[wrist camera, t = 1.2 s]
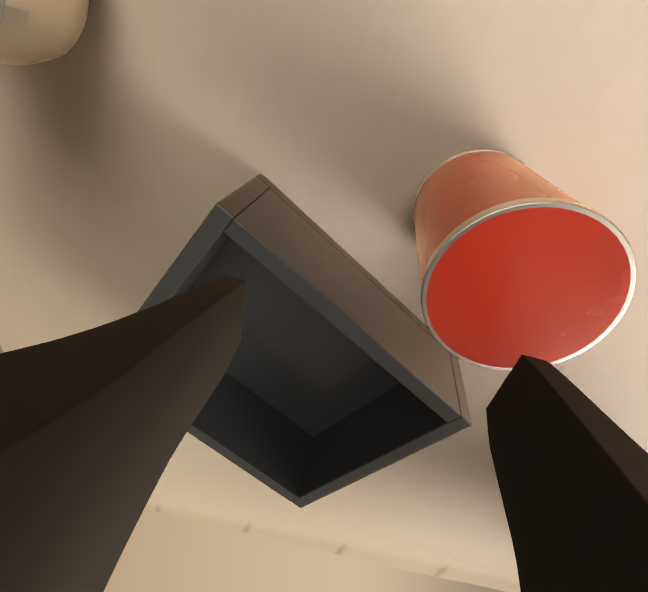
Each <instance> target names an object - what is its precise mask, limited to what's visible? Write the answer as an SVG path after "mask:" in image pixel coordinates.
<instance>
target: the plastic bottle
mask: <svg viewBox="0 0 648 592" xmlns="http://www.w3.org/2000/svg"><path fill="white" fill-rule="evenodd" d="M88 6H89V0H0V64H6V65H13V66H21V65H29V64H34V63H39V62H44V61H49V60H54V59H56V58H58V57H61V56H63V55H65V54H66V53H67V52H68V51H69V50H70V49H71V48H73V47H74V45H75V43H76V42H77V40H78V39H79V37H80V35H81V33H82V31H83V28H84V25H85V22H86V19H87V15H88Z"/></svg>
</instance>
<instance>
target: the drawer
mask: <svg viewBox="0 0 648 592" xmlns="http://www.w3.org/2000/svg"><path fill="white" fill-rule="evenodd" d="M224 274H225V275H228V276H232V277H236V278H240V279H243V280H247V281H246V291H245V302H244V312H243V322H242V333H241V341H240V343H239V345H238V348H237V350H236V352H235V354H234V356H233V358H232V360H231V362H230V364H229V366H228V368H227V370H226V372H225V374H224V375H223V377H222V379H221V380H220V382H219V383H218V385H217V386H216V388H215V390H214V391H213V393H212V394H211V396H210V397H209V399H208V400H207V402H206V403H205V405H204V406H203V408H202V409H201V411H200V413H199V414H198V416H197V417H196V419H195V420H194V422H193V423H192V425H191V426H190V428H189V429H188V431H187V432H189V433H190V434H191V435H193V436H194V437H196V438H197V439H199V440H200V441H202V442H203V443H205V444H206V445H208V446H209V447H211V448H212V449H214V450H215V451H217V452H218V453H220V454H221V455H223V456H224V457H226V458H227V459H228V460H230V461H231V462H233V463H234V464H236V465H237V466H239V467H240V468H242V469H243V470H245V471H246V472H248V473H249V474H251V475H252V476H254V477H255V478H257V479H258V480H260V481H261V482H263V483H264V484H265V485H267V486H268V487H270V488H271V489H273V490H274V491H276V492H277V493H279V494H280V495H282V496H283V497H285V498H286V499H288V500H289V501H292V502H293V503H294V504H295V505H297V506H298V507H300V508H302V507H304V506H306V505H308V504H310V503H312V502H314V501H316V500H318V499H320V498H322V497H325V496H327V495H329V494H331V493H333V492H335V491H337V490H339V489H341V488H343V487H345V486H347V485H349V484H352V483H354V482H356V481H358V480H360V479H362V478H364V477H366V476H368V475H370V474H372V473H374V472H376V471H379V470H381V469H383V468H385V467H387V466H389V465H391V464H393V463H395V462H397V461H399V460H401V459H403V458H406V457H408V456H410V455H412V454H414V453H416V452H418V451H420V450H422V449H424V448H426V447H428V446H430V445H433V444H435V443H437V442H439V441H441V440H443V439H445V438H447V437H449V436H451V435H453V434H455V433H457V432H460V431H462V430H464V429H466V428H468V427H470V426H471V425H472V423H471V418H470V413H469V408H468V404H467V399H466V394H465V390H464V385H463V380H462V375H461V371H460V366H459V362H458V357H456V356H455V355H453V354H451V353H450V352H449V351H448V350H446V349H445V348H444V347H443V346H442V345H441V344H440V343H439V342H438V341H437V340H436V339H435V338H434V336H433V335H432V333H431V332H430V330H429V328H428V327H427V326H426V325H425V324H423V323H422V322H421V321H420V320H419V319H418V318H417V317H416V316H415V315H414V314H413V313H412V312H411V311H409V310H408V309H407V308H406V307H405V306H404V305H403V304H402V303H401V302H400V301H399V300H398V299H396V298H395V297H394V296H393V295H392V294H391V293H390V292H389V291H388V290H387V289H386V288H385V287H383V286H382V285H381V284H380V283H379V282H378V281H377V280H376V279H375V278H374V277H373V276H372V275H371V274H369V273H368V272H367V271H366V270H365V269H364V268H363V267H362V266H361V265H360V264H359V263H358V262H356V261H355V260H354V259H353V258H352V257H351V256H350V255H349V254H348V253H347V252H346V251H345V250H343V249H342V248H341V247H340V246H339V245H338V244H337V243H336V242H335V241H334V240H333V239H332V238H331V237H329V236H328V235H327V234H326V233H325V232H324V231H323V230H322V229H321V228H320V227H319V226H318V225H316V224H315V223H314V222H313V221H312V220H311V219H310V218H309V217H308V216H307V215H306V214H305V213H303V212H302V211H301V210H300V209H299V208H298V207H297V206H296V205H295V204H294V203H293V202H292V201H291V200H289V199H288V198H287V197H286V196H285V195H284V194H283V193H282V192H281V191H280V190H279V189H278V188H276V187H275V186H274V185H273V184H272V183H271V182H270V181H269V180H268V179H267V178H266V177H265V176H264V175H262V174H259V175H258V176H257V177H255V178H254V179H252V180H251V181H249V182H248V183H246V184H245V185H243V186H242V187H240V188H239V189H237V190H236V191H234V192H233V193H231V194H230V195H228V196H227V197H225V198H224V199H222V200H221V201H219V202H218V203H216V205H215V206H214V207H213V209H212V210H211V211H210V213H209V214H208V216H207V217H206V218H205V220H204V221H203V222H202V224H201V225H200V227H199V228H198V229H197V231H196V232H195V233H194V235H193V236H192V238H191V239H190V240H189V242H188V243H187V244H186V246H185V247H184V249H183V250H182V251H181V253H180V254H179V255H178V257H177V258H176V260H175V261H174V262H173V264H172V265H171V266H170V268H169V269H168V271H167V272H166V273H165V275H164V276H163V277H162V279H161V280H160V282H159V283H158V284H157V286H156V287H155V288H154V290H153V291H152V293H151V294H150V295H149V297H148V298H147V299H146V301H145V302H144V304H143V305H142V306H141V308H140V309H139V310H138V312H139V311H141V310H144V309H147V308H149V307H152V306H154V305H157V304H159V303H161V302H164V301H166V300H168V299H170V298H172V297H175V296H177V295H179V294H181V293H184V292H186V291H188V290H190V289H192V288H195V287H197V286H199V285H201V284H203V283H205V282H208V281H210V280H212V279H214V278H217V277H219V276H221V275H224Z"/></svg>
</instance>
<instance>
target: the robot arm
mask: <svg viewBox="0 0 648 592" xmlns="http://www.w3.org/2000/svg"><path fill="white" fill-rule="evenodd" d="M246 281H247V280H243V279H240V278H236V277H232V276H228V275H225V274H224V275H221V276H219V277H217V278H214V279H212V280H210V281H208V282H205V283H203V284H201V285H199V286H197V287H195V288H192V289H190V290H188V291H186V292H184V293H181V294H179V295H177V296H175V297H172V298H170V299H168V300H166V301H164V302H161V303H159V304H157V305H154V306H152V307H149V308H147V309H144V310H141V311H139V312H136V313H134V314H131V315H129V316H126V317H124V318H121V319H119V320H116V321H113V322H111V323H108V324H105V325H102V326H99V327H96V328H93V329H90V330H87V331H83V332H80V333H77V334H74V335H70V336H67V337H64V338H61V339H57V340H53V341H50V342H46V343H42V344H38V345H34V346H30V347H26V348H22V349H18V350H14V351H9V352H5V353H2V354H0V592H103V591H104V589H105V587H106V585H107V583H108V581H109V579H110V576H111V574H112V572H113V570H114V568H115V566H116V564H117V562H118V560H119V558H120V556H121V554H122V551H123V549H124V548H125V545H126V543H127V541H128V539H129V537H130V535H131V533H132V531H133V529H134V528H135V526H136V523H137V521H138V520H139V518H140V515H141V514H142V512H143V509H144V508H145V506H146V504H147V502H148V500H149V498H150V496H151V494H152V492H153V490H154V488H155V486H156V485H157V483H158V481H159V479H160V477H161V475H162V473H163V471H164V469H165V467H166V466H167V464H168V462H169V460H170V458H171V457H172V455H173V453H174V451H175V450H176V448H177V446H178V445H179V443H180V442H181V440H182V439H183V437H184V435H185V434H186V432H187V431H188V429H189V428H190V426H191V425H192V423H193V422H194V420H195V419H196V417H197V416H198V414H199V413H200V411H201V409H202V408H203V406H204V405H205V403H206V402H207V400H208V399H209V397H210V396H211V394H212V393H213V391H214V390H215V388H216V386H217V385H218V383H219V382H220V380H221V379H222V377H223V375H224V374H225V372H226V370H227V368H228V366H229V364H230V362H231V360H232V358H233V356H234V354H235V352H236V350H237V348H238V345H239V343H240V341H241V333H242V322H243V312H244V302H245V291H246ZM486 412H487V425H488V436H489V444H490V450H491V454H492V459H493V463H494V467H495V472H496V476H497V480H498V484H499V488H500V492H501V497H502V501H503V505H504V509H505V513H506V517H507V521H508V525H509V529H510V533H511V537H512V542H513V547H514V552H515V557H516V562H517V568H518V575H519V582H520V589H521V592H648V453H647V452H646V451H645V450H643V449H642V448H641V447H640V446H639V445H638V444H637V443H636V442H635V441H634V440H632V439H631V438H630V437H629V436H628V435H627V434H626V433H625V432H624V431H623V430H622V429H621V428H619V427H618V426H617V425H616V424H615V423H614V422H613V421H612V420H611V419H610V418H609V417H608V416H607V415H606V414H605V413H604V412H602V411H601V410H600V409H599V408H598V407H597V406H596V405H595V404H594V403H593V402H592V401H591V400H590V399H589V398H588V397H587V396H586V395H585V394H583V393H582V392H581V391H580V390H579V389H578V388H577V387H576V386H575V385H574V384H573V383H572V382H571V381H570V380H568V379H567V378H566V377H565V376H564V375H563V374H562V373H561V372H560V371H558V370H557V369H556V368H555V367H554V366H552V365H551V364H550V363H548V362H547V361H545V360H541V359H538V358H534V357H530V356H527V355H523V354H522V355H521V356H520V358H519V359H518V361H517V363H516V364H515V366H514V367H513V369H512V370H511V372H510V373H509V375H508V376H507V378H506V379H505V381H504V382H503V384H502V385H501V387H500V388H499V390H498V392H497V393H496V395H495V396H494V398H493V399H492V401H491V402H490V404H489V405H488V407H487V408H486Z"/></svg>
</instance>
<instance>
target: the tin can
mask: <svg viewBox="0 0 648 592" xmlns="http://www.w3.org/2000/svg"><path fill="white" fill-rule="evenodd" d="M413 223H414V228H415V233H416V242H417V252H418V261H419V270H420V280H421V305H422V312H423V316H424V319H425V322H426V324H427V326H428V328H429V330H430V332H431V333H432V335H433V336H434V338H435V339H436V340H437V341H438V342H439V343H440V344H441V345H442V346H443V347H444V348H445V349H446V350H448V351H449V352H450V353H451V354H453V355H455V356H456V357H458V358H460V359H462V360H464V361H466V362H468V363H471V364H474V365H477V366H480V367H484V368H488V369H494V370H503V371H511V370H512V369H513V367H514V366H515V364H516V363H517V361H518V359H519V358H520V356H521V355H522V354H523V355H527V356H530V357H534V358H538V359H541V360H545V361H547V362H548V363H550V364H551V365H554V364H556V363H559V362H562V361H565V360H567V359H569V358H572V357H574V356H576V355H578V354H580V353H582V352H583V351H585V350H587V349H588V348H590V347H591V346H593V345H594V344H596V343H597V342H598V341H600V340H601V339H602V338H603V337H604V336H605V335H606V334H608V333H609V332H610V330H611V329H612V328H613V327H614V326H615V325H616V324H617V323H618V321H619V320H620V318H621V317H622V316H623V314H624V313H625V311H626V309H627V307H628V305H629V303H630V301H631V298H632V295H633V292H634V289H635V283H636V263H635V258H634V253H633V251H632V249H631V246H630V244H629V242H628V240H627V239H626V237H625V236H624V234H623V233H622V232H621V231H620V230H619V229H618V227H617V226H616V225H615V224H614V223H612V222H611V221H610V220H608V219H607V218H605V217H604V216H603V215H601V214H600V213H598V212H597V211H595V210H593V209H591V208H589V207H587V206H585V205H582V204H581V203H579V202H578V201H576V200H575V199H573V198H572V197H570V196H569V195H567V194H566V193H564V192H563V191H561V190H560V189H558V188H557V187H556V186H554V185H553V184H551V183H550V182H548V181H547V180H545V179H544V178H542V177H541V176H539V175H538V174H536V173H535V172H533V171H532V170H530V169H529V168H528V167H526V166H525V165H524V164H523V163H522V162H521V161H519V160H518V159H517V158H515V157H514V156H512V155H510V154H508V153H506V152H503V151H500V150H495V149H489V148H479V149H471V150H466V151H463V152H460V153H457V154H455V155H453V156H451V157H449V158H447V159H445V160H444V161H442V162H441V163H439V164H438V165H437V166H436V167H435V168H433V169H432V170H431V172H430V173H429V174H428V175H427V176H426V177H425V179H424V180H423V182H422V183H421V185H420V187H419V189H418V191H417V193H416V196H415V200H414V204H413Z"/></svg>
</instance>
